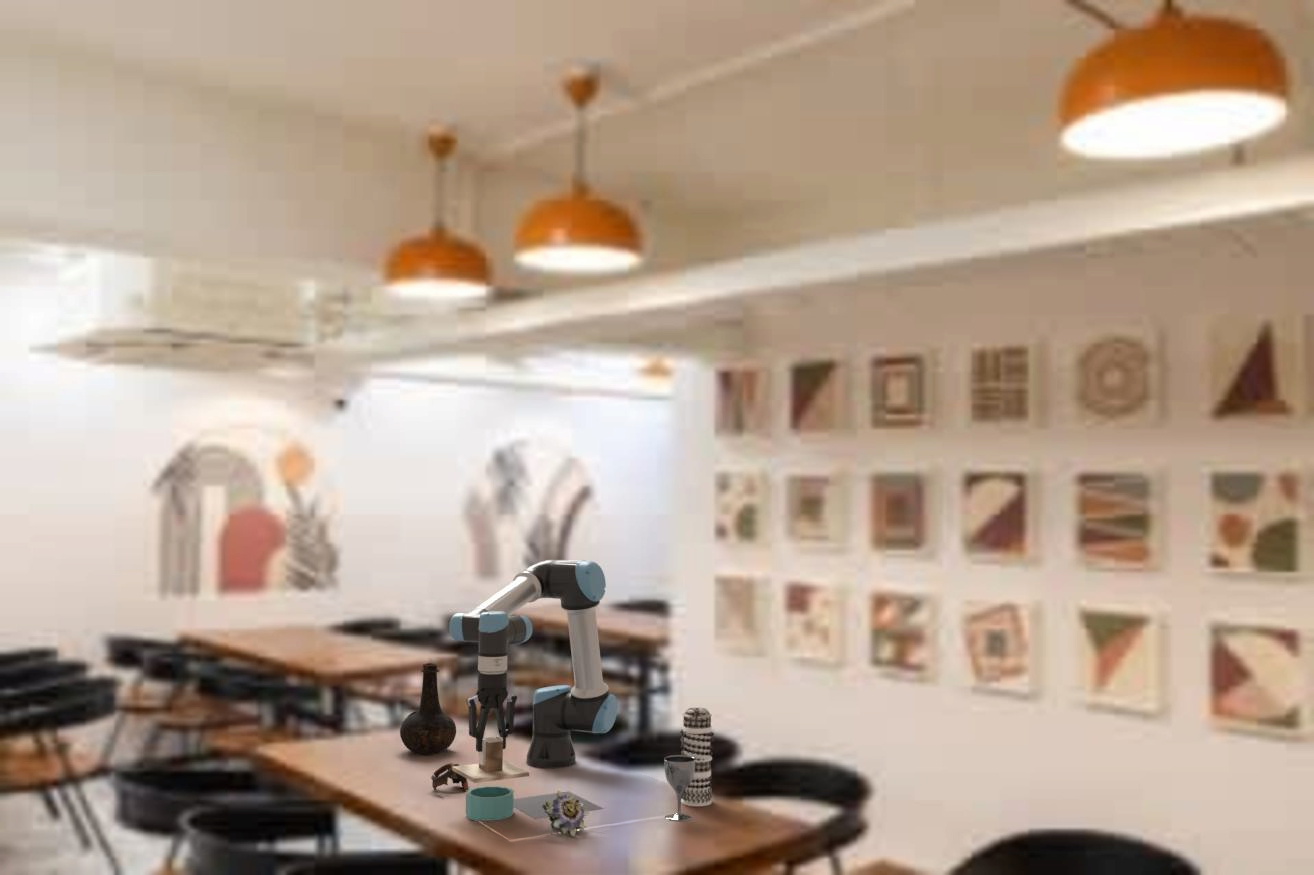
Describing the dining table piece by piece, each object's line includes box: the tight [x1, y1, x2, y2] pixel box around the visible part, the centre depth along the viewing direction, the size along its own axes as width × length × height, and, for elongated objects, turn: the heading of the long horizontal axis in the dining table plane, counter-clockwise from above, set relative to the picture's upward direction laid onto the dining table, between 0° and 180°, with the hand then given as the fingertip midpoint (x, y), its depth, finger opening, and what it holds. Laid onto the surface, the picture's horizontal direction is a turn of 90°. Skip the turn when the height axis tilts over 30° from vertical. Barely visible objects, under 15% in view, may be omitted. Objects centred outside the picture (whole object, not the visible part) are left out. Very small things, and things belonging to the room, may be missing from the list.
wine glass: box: [663, 754, 695, 822], centre depth 298 cm, size 8×8×15 cm
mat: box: [514, 791, 604, 820], centre depth 306 cm, size 20×20×1 cm
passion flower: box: [542, 790, 590, 838], centre depth 283 cm, size 11×11×12 cm
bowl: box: [465, 785, 515, 823], centre depth 297 cm, size 12×12×6 cm
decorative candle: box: [679, 707, 715, 807], centre depth 313 cm, size 9×9×25 cm
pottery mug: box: [430, 762, 470, 792], centre depth 323 cm, size 12×10×8 cm
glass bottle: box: [399, 662, 457, 755], centre depth 369 cm, size 18×18×28 cm
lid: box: [452, 736, 530, 784], centre depth 297 cm, size 15×15×8 cm
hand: (490, 763), depth 297 cm, fingers closed on lid, 4 cm apart
